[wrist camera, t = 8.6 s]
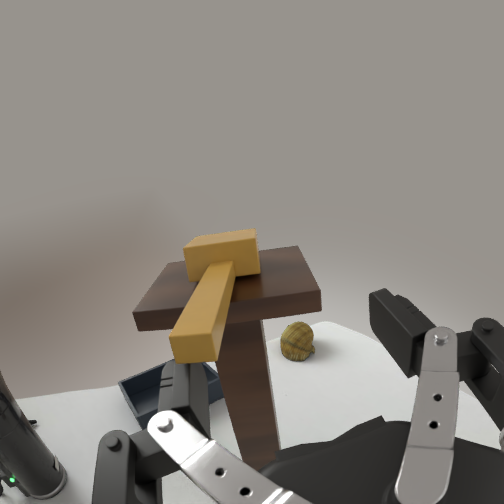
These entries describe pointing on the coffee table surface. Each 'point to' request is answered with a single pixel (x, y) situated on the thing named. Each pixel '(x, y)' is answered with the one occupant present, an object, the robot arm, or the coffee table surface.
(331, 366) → the coffee table surface
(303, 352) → the seashell
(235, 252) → the hammer
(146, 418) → the tray
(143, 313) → the stand
